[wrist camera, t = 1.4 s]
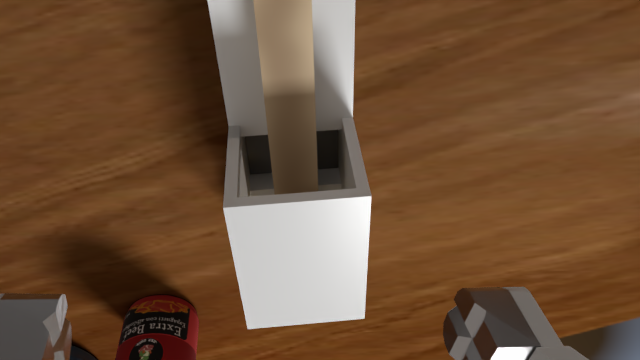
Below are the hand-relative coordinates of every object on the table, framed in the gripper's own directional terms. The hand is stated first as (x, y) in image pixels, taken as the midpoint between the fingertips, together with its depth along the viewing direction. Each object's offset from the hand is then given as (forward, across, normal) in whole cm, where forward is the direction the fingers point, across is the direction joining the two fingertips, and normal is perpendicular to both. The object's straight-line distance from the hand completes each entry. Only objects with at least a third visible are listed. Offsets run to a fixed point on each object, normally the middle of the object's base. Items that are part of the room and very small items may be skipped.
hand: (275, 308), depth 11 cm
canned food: (+31, +4, +38) cm, 49 cm away
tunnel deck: (+28, -6, +15) cm, 33 cm away
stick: (+26, -4, +7) cm, 27 cm away
